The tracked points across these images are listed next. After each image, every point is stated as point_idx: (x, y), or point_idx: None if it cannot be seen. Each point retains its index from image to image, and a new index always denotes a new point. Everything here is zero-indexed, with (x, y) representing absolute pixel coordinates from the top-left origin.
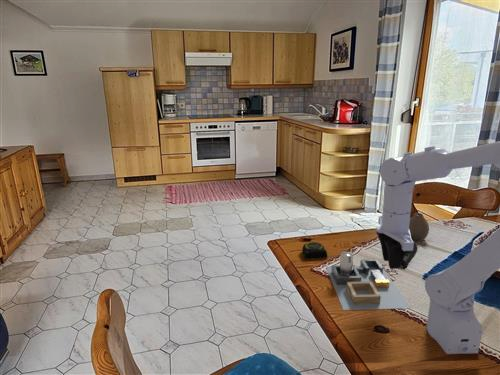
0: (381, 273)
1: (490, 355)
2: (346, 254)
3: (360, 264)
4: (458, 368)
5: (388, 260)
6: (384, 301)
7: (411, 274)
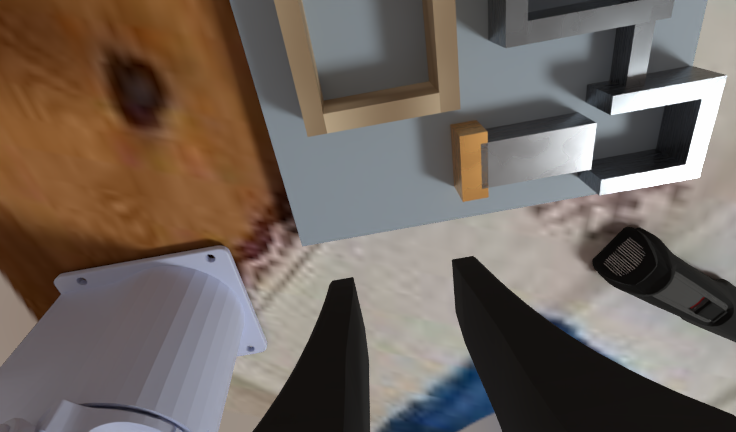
0: (549, 176)
1: None
2: None
3: (696, 68)
4: (33, 305)
5: (346, 313)
6: (332, 146)
7: (573, 286)
